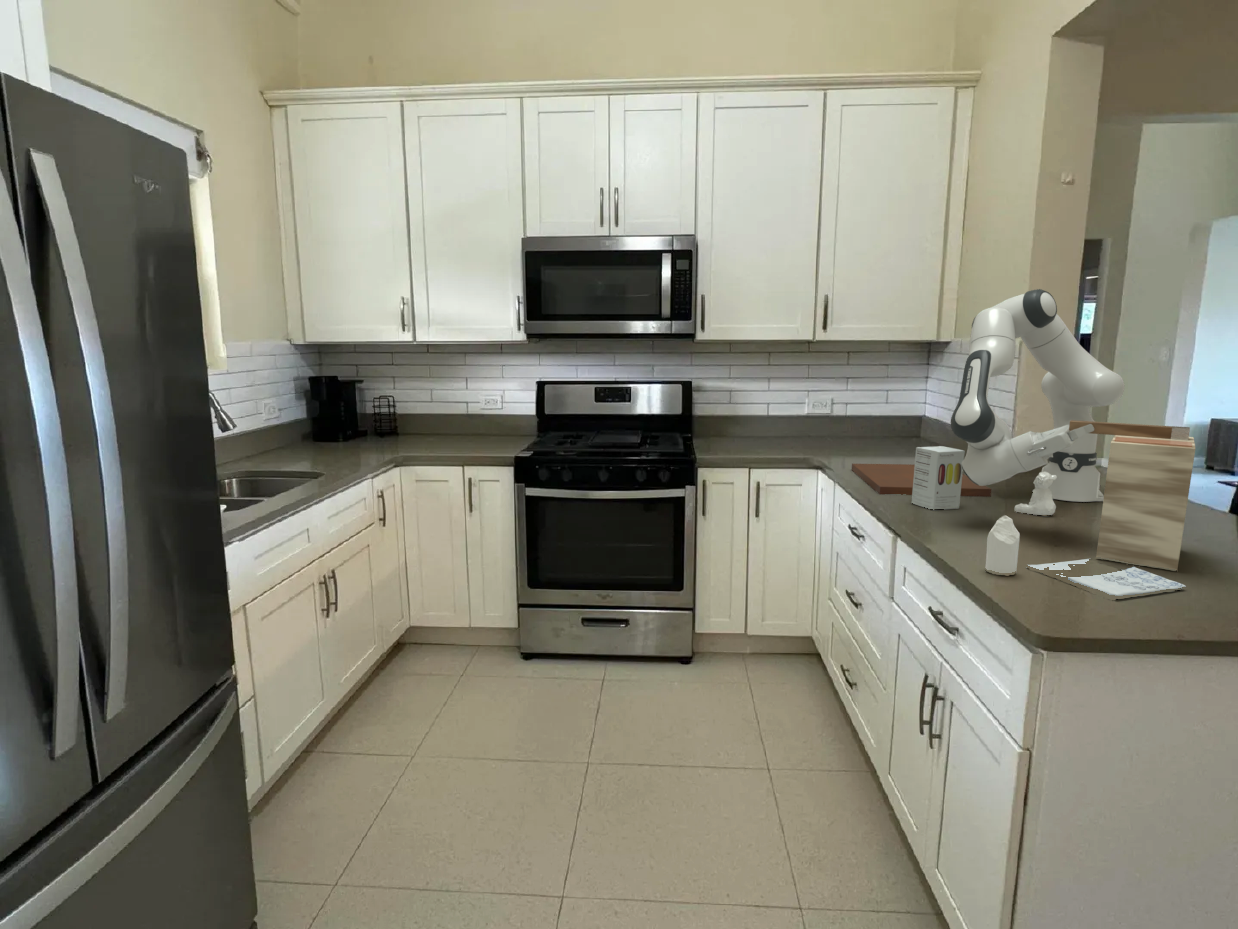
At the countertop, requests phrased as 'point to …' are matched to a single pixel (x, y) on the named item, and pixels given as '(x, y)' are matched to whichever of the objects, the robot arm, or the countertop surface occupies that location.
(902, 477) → the reddish brown board
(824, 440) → the countertop surface
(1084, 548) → the countertop surface
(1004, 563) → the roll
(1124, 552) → the birch shelf
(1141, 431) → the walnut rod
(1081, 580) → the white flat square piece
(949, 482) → the supplement box
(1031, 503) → the white creature statuette
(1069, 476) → the robot arm
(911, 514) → the countertop surface
